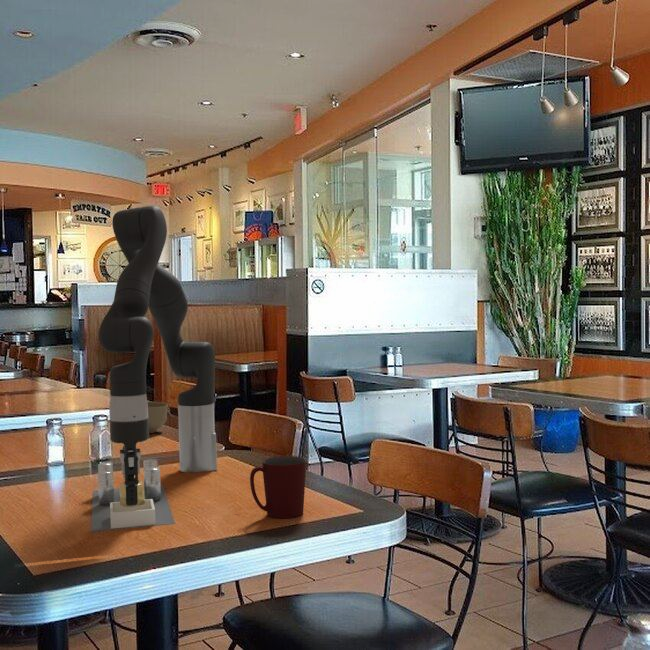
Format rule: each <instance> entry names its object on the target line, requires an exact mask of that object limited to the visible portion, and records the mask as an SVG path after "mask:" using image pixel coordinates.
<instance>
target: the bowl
mask: <svg viewBox="0 0 650 650" xmlns="http://www.w3.org/2000/svg"><path fill="white" fill-rule="evenodd" d="M147 402H148V423H149V434H153V433H156V432H157V430H159V429H160V428H161V427H163V426H164V424H166V422H167V418H168V407H169V404H168V403H165V402H159V401H148V400H147Z"/></svg>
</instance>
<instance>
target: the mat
mask: <svg viewBox="0 0 650 650" xmlns="http://www.w3.org/2000/svg"><path fill="white" fill-rule="evenodd" d="M144 493H145V500H146V492H144ZM114 502H120V487H119V488H114ZM153 503H154V507H155V525H144V526H134V527H123V528H112V529H111V519H110V506H99V493H98V489H96V490H92V503H91V516H90V517H91V520H90V532H91V533H93V532H103V531H104V532H105V531H114V530H126V529H135V528H144V527H147V528H148V527H157V526H167V525H169V526H170V525H175V524H176V522H175V519H174V516H173V513H172V510H171V506H170V503H169V500H168V497H167V493H166V490H165V487H164V484H161V500H160V501H158V502H153Z"/></svg>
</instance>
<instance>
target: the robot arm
mask: <svg viewBox="0 0 650 650" xmlns="http://www.w3.org/2000/svg"><path fill="white" fill-rule="evenodd" d="M111 221H112V222H111V223H112V230H113V233H114V237H115V240H116V241H117V244H118V247H119V248H120V250H121V252H122V253H123V256H124V257H125V259H126V261H127V263H128V264H127V265H126V266H125V267H124V268H123V270H122V271H121V273H120V275H119V276H118V279H117V282H116V287H115V292H114V297H113V302H112V304H111V305H110V308H109V310H108V311H107V313H106V314H105V316H104V317H103V320H102V321H101V323H100V326H99V329H98V334H97V335H98V338H97V339H98V343H99V344H100V346H101V348H102V349H103V350H104V351H105V352H108V353H112V354H113V353H134V356H133V359H132V360H131V361H129V362H125V363H121V364H118V365H114V366H112V367H111V368H110V371H109V395H110V397H109V406H108V407H109V439H110V441H111V442H112V443H113V444H123V447H122V449H119V459H120V460H119V461H120V462H121V474H122V475H123V479H124V482H123V483H124V485H125V487H126V504H127V505H128V506H131V505H137V504H138V494H137V486H138V484H139V481H140V480H139V474H140V472H141V467H140V466H141V465H140V463H141V462H140V460H141V453H142V452H141V449H140V448H139V447H137V444H138V443H143V442H145V441H147V440H148V439H149V438H150V433H149V423H148V402H149V401H148V397H147V366H148V361H149V360H148V359H149V356H150V352H151V348H152V343H153V340H154V336H155V330H154V325H153V323H152V321H150V320H149V318H148V317H145V316H146V315H147V312H148V311H149V312H150V314H151V316H152V318H153V321H154V323H155V325H156V328H157V329H158V332H159V335H160V338H161V340H162V343H163V346H164V350H165V353H166V356H167V359H168V363H169V366H170V368H171V370H172V373H173V374H174V375H175V376H177V377H179V378H189V379H190V378H193V379H194V378H196V383H195V385H194V386H193V387H191V388H188V389H187V390H184V391H181V392H179V393H178V395H177V411H178V412H177V414H178V415H177V416H178V417H177V418H178V420H177V421H178V450H179V451H178V453H179V471H180V472H181V473H200V472H210V471H211V472H212V471H218V463H217V462H218V457H217V433H216V431H215V429H216V428H215V390H216V388H215V387H216V386H215V385H216V384H215V382H216V379H215V378H216V377H215V376H216V373H215V372H216V353H215V348H214V345H212V344H211V343H210V342H207V341H184V340H183V338H182V336H181V328H182V325H183V323H184V321H185V319H186V315H187V313H188V308H189V307H188V306H189V304H188V300H187V296H186V295H185V291H184V289H183V287H182V284H181V282H180V280H179V279H178V277H176V276H175V275H174V274H173V273H171V272H170V271H169V270H167V269H166V268H164V267H163V266H162V265H161V264H159V262H160V259H161V256H162V253H163V250H164V247H165V244H166V242H167V236H168V235H167V233H168V227H167V226H168V225H167V221H166V217H165V214H164V213H163V211H162V209H161V208H160V207H158V206H156V205H146V206H140V207H133V208H128V209H123V210H119V211H117V212H115V214H113V216H112V220H111ZM147 401H148V402H147Z"/></svg>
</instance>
